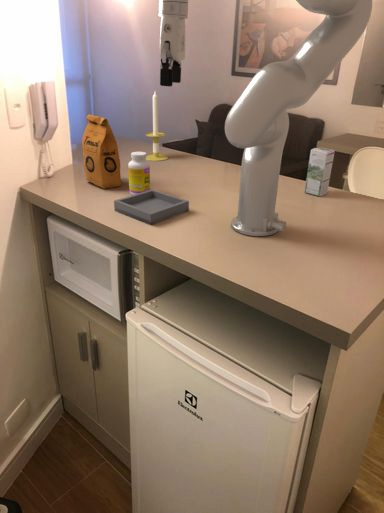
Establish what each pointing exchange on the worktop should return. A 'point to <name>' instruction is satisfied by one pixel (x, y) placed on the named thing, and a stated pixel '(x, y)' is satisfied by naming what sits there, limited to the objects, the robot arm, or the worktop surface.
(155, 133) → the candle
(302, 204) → the worktop surface
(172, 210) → the tray
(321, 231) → the worktop surface
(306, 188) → the syrup box
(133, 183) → the supplement bottle
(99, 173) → the coffee package
